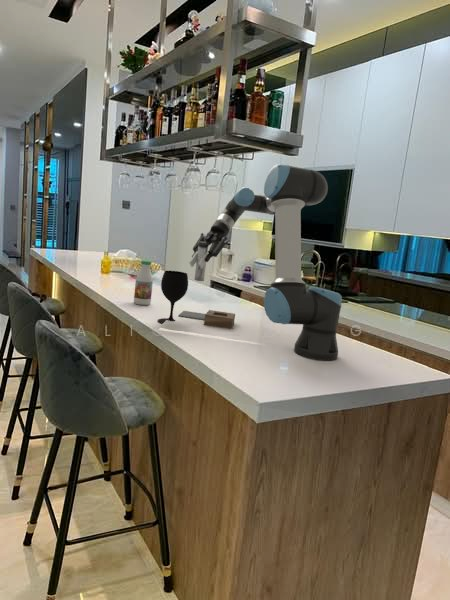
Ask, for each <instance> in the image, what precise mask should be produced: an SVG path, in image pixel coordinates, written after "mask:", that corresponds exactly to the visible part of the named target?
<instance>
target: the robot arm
mask: <svg viewBox="0 0 450 600" xmlns="http://www.w3.org/2000/svg"><path fill="white" fill-rule="evenodd" d="M264 181H265V182H264V186H263V193H264V195H263V194H260V193H259V194H258V193H255V192H254V190H252V189H250V188H249V187H246V186H245V187H240V189H239V190H238V191H237V192H235V194H234V195H233V197H232V198H231V199H230V201H228V202H227V204H226V206H225V207H224V208H223V210H222V211H221V213H220V214H219V215H218V217H217V219H216V220H215V221H214V222H213V224H212V226H211V227H210V229H209V231H208V232H207V233H204V232H202V233H200V236H199V238H198V240H197V241H196V243H195V244H194V246H193V247H192V251H193V252H194V253H193V254H192V255H191V259H190V260H189V261H188V263H189V265H190V267H191V268H193V267H194V266H195V265H196V262H197V253H198V241H201V242H208V243H209V246H210V247H209V248H208V251H207V253H205V255H204V256H203V258H202V259H201V261H200V262H199V266H200V268H201V269H202V268H203V266H204V265H205V264H206V265H207V263H208V262H209V261H210V259H211V258H213V257H215V258H217V257H218V255H219V254H220V252H222V250H223V248H224V247H225V246H226V245H227V244H228V243H229V242H230V241H229V239H228V237H227V236H228V234H229V233H230V232H231V230H232V229H233V227H234V226H235V224H236V223H237V221H238V220H239V218H240V217H241V216H242V215H243V214H244V213H245V212H246V211H247V212H254V213H261V214H265V215H273V216H274V215H275V216H274V219H275V220H274V223H275V224H274V225H275V226H274V229H275V230H274V232H275V233H274V239H275V240H274V241H275V243H274V245H275V246H274V248H275V251H274V252H275V254H274V255H275V257H274V258H275V261H274V262H275V264H274V265H275V267H274V268H275V269H274V270H275V272H274V273H275V276H274V279H273V281H272V282H271V283H270V288H268V289H267V290H266V291H265V293H264V297H263V307H264V312H265V314H266V316H267V317H268V319H269V321H271V322H272V323H274V324H281V325H302V328H301V331H300V333H299V336H298V337H297V340H296V341H295V343H294V346H293V347H294V348H293V351H294V353H296V354H298V355H299V356H302V357H305V358H308V359H312V360H319V361H335V360H338V356H339V348H338V342H337V341H338V340H337V330H338V325H339V318H340V312H341V308H342V301H343V300H342V299H343V297H342V295H341V294H340V293H339V292H335V291H334V290H333V291H332V290H331V289H325V288H322V287H317V286H314V285H310V286H309V287H308V289H307V288H306V287H307V286H306V285H307V284H306V282H305V281H304V280H303V279H302V236H301V233H302V229H301V228H302V224H301V223H302V221H301V220H302V219H301V218H302V217H301V211H302V209H303V208H304V207H305V206H306V207H308V206H309V207H310V206H313V205H317V204H319V203H321V202H323V200H325V198H326V196H327V195H328V189H329V186H328V181H327V180H326V178H325V176H324V175H323V174H322V173H320V172H319V171H316V170H314V169H313V170H312V169H309V168H301V167H298V166H292V165H289V164H279V163H278V164H275V165H274V166H273V167H272V168H271V169H270V170H269V171H268V174H267V175H266V178H265V180H264Z"/></svg>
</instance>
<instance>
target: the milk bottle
mask: <svg viewBox="0 0 450 600" xmlns="http://www.w3.org/2000/svg"><path fill="white" fill-rule="evenodd" d="M151 266H152V261H151V260H145V259H143V260H142V259H141V260H140V269H139V271H138V273H137V274H136V278H135V285H134V293H133V294H134V295H133V303H134V304H136V305H141V306H149V305H151V303H152V293H153V284H154V283H153V281H154V277H153V274H152V271H151Z"/></svg>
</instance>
